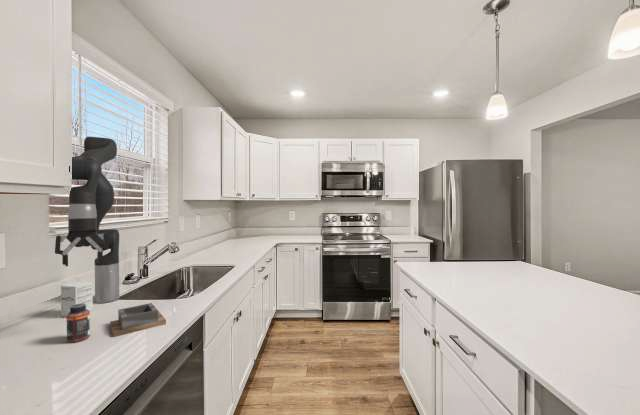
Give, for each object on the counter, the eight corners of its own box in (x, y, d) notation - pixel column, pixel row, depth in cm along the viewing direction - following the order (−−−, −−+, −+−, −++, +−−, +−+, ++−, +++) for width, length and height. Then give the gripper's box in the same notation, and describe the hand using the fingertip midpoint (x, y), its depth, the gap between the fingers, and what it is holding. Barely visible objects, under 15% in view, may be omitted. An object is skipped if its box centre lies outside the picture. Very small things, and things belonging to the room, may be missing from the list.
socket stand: (110, 325, 106) (109, 310, 106) (158, 314, 117) (158, 301, 117) (113, 336, 97) (113, 320, 97) (165, 323, 108) (165, 309, 108)
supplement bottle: (94, 335, 99) (94, 302, 99) (78, 343, 93) (78, 308, 93) (78, 334, 99) (78, 302, 99) (61, 342, 93) (61, 308, 93)
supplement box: (60, 317, 115) (59, 285, 115) (78, 310, 122) (78, 280, 122) (75, 318, 114) (75, 286, 113) (93, 311, 121) (93, 281, 121)
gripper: (107, 216, 107) (107, 260, 106) (55, 217, 97) (55, 265, 97) (109, 216, 101) (109, 263, 101) (54, 218, 92) (54, 268, 91)
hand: (83, 264), depth 99 cm, fingers open, 8 cm apart
